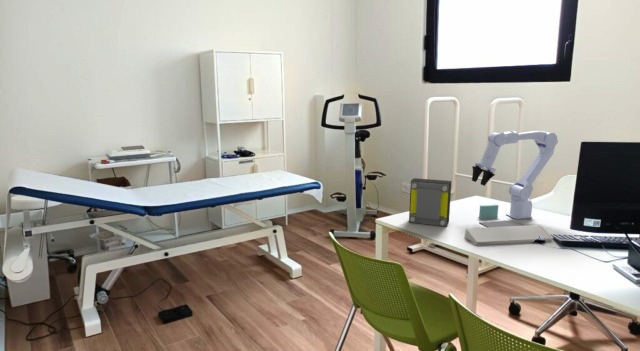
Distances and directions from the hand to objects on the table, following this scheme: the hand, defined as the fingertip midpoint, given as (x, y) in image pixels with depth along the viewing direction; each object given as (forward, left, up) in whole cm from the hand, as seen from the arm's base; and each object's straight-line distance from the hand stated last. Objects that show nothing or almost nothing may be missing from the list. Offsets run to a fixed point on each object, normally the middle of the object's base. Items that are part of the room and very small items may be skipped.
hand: (478, 183), depth 221 cm
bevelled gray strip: (+4, +31, -18) cm, 36 cm away
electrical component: (+26, +2, -18) cm, 31 cm away
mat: (-6, +15, -18) cm, 24 cm away
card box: (-7, 0, -18) cm, 19 cm away
